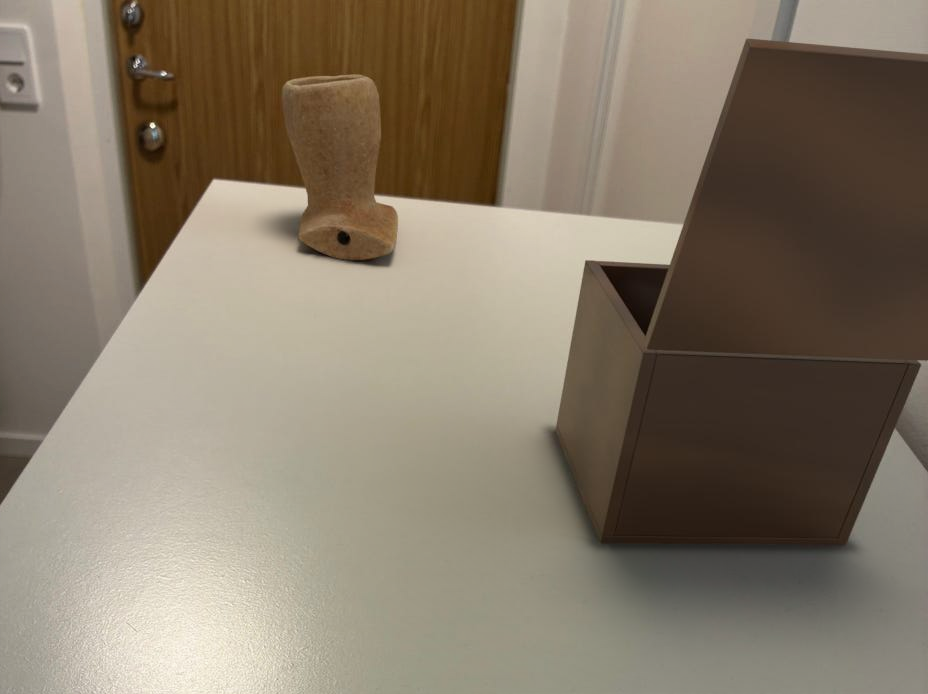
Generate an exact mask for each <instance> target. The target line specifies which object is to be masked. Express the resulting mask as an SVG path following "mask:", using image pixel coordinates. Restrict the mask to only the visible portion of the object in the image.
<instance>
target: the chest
mask: <svg viewBox="0 0 928 694" xmlns="http://www.w3.org/2000/svg"><path fill="white" fill-rule="evenodd" d="M669 266H670V264H664V263H663V264H662V263H645V262H644V263H643V262H628V261H627V262H625V261H606V260H589V259H588V260H587V259H585V261H584V266H583V271H582V278H581V283H580V289H579V293H578V300H577V306H576V312H575V317H574V324H573V327H572V328H573V329H572V334H571V340H570V345H569V351H568V357H567V362H566V369H565V374H564V380H563V386H562V390H561V391H562V392H561V397H560V402H559V408H558V409H559V410H558V413H557V419H556V426H555V432H554V433H555V435H556V437H557V439H558V441H559V444H560V446H561V449H562V451H563V453H564V456H565V459H566V461H567V464H568V467H569V469H570V472H571V474H572V476H573V479H574V482H575V483H576V486H577V489H578V492H579V494H580V496H581V499H582V501H583V503H584V506H585V509H586V511H587V514H588V516H589V518H590V521H591V524H592V526H593V528H594V532H595V533H596V536H597V539H598V541H599V543H600V544H659V545H660V544H662V545H663V544H664V545H667V544H670V545H671V544H673V545H751V546H752V545H755V546H756V545H759V546H763V545H764V546H766V545H767V546H768V545H770V546H847V543H848V541H849V539H850V536H851V533H852V531H853V529H854V527H855V524H856V523H857V520H858V517H859V514H860V512H861V509H862V508H863V505H864V503H865V500H866V498H867V495H868V494H869V491H870V489H871V486H872V484H873V481H874V479H875V476H876V474H877V472H878V469H879V467H880V465H881V462H882V460H883V457H884V455H885V453H886V450H887V448H888V445H889V443H890V441H891V438H892V436H893V433H894V432H895V429H896V426H897V424H898V422H899V420H900V417H901V415H902V412H903V410H904V408H905V406H906V403H907V400H908V398H909V396H910V393H911V392H912V391H911V390H912V389H913V386H914V384H915V381H916V379H917V377H918V374H919V372H920V370H921V367H922V363H920V362H919V360H895V359H870V358H845V357H819V356H794V355H769V354H744V353H719V352H693V351H668V350H647V348H646V345H645V342H644V340H645V337H646V334H647V331H648V328H649V325H650V322H651V319H652V316H653V313H654V310H655V307H656V304H657V301H658V298H659V295H660V292H661V289H662V286H663V283H664V281H665V278H666V275H667V272H668V269H669Z"/></svg>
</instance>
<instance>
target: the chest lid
mask: <svg viewBox="0 0 928 694" xmlns="http://www.w3.org/2000/svg"><path fill="white" fill-rule="evenodd" d="M669 265H670V266H669V269H668V272H667V275H666V278H665V281H664V283H663V286H662V289H661V292H660V295H659V298H658V301H657V304H656V307H655V310H654V313H653V316H652V319H651V322H650V325H649V328H648V331H647V334H646V337H645V340H644V342H645V345H646V348H647V350H668V351H693V352H719V353H744V354H769V355H794V356H819V357H845V358H870V359H895V360H917V361H920V362H921V361H922V362H923V361H924V362H927V361H928V53H919V52H918V53H916V52H906V51H894V50H885V49H883V50H882V49H871V48H862V47H861V48H859V47H849V46H838V45H827V44H826V45H825V44H814V43H804V42H793V41H792V42H791V41H781V40H772V39H771V40H769V39H758V38H746V39H745V41H744V44H743V47H742V50H741V52H740V55H739V59H738V61H737V63H736V67H735V71H734V73H733V76H732V80H731V82H730V85H729V88H728V91H727V95H726V97H725V100H724V104H723V105H722V109H721V111H720V115H719V118H718V121H717V124H716V127H715V130H714V131H713V135H712V138H711V142H710V145H709V148H708V150H707V153H706V155H705V159H704V162H703V165H702V168H701V172H700V173H699V177H698V180H697V182H696V186H695V189H694V192H693V195H692V198H691V201H690V204H689V206H688V210H687V212H686V216H685V219H684V222H683V225H682V228H681V230H680V233H679V236H678V239H677V243H676V245H675V248H674V251H673V254H672V256H671V260H670V263H669Z"/></svg>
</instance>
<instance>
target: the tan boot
mask: <svg viewBox="0 0 928 694" xmlns="http://www.w3.org/2000/svg"><path fill="white" fill-rule="evenodd" d="M281 99H282V106H283V117H284V126H285V130H286V133H287V137H288V140H289V142H290V144H291V148H292V151H293V154H294V156H295V160H296V163H297V167H298V168H299V172H300V174H301V178H302V181H303V184H304V188H305V191H306V195H307V206H306V208H305V210H304V211H303V213H302V214H301V215H302V216H301V220H300V225H299V231H298V235H297V236H298V240H299V241H300V242H302V243H303V244H305V245H306V246H308V247H310V248H311V249H313V250H315V251H317V252H319V253H322V254H324V255H327V256H328V257H331V258H335V259H339V260H346V261H364V260H370V259H375V258H378V257H384V256H386V255H388V254H390V253H392V251H394V248H395V246H396V243H397V238H398V230H399V215H398V211H397V210H396V208H395V207H394V206H392V205H389V204H384V203H381V202H378V201H376V198H375V187H376V186H375V184H376V174H377V173H376V172H377V165H378V158H379V153H380V149H381V141H382V123H381V122H382V121H381V107H380V95H379V91H378V88H377V85H376V83H375V81H374V80H373V79H372V78H369V77H368V76H367V75H363V74H339V75H334V76H333V75H332V76H331V75H318V76H317V75H316V76H306V77H299V78H294V79H290V80H288V81H286V82H285V83H284V84H283V86H282V89H281Z"/></svg>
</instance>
